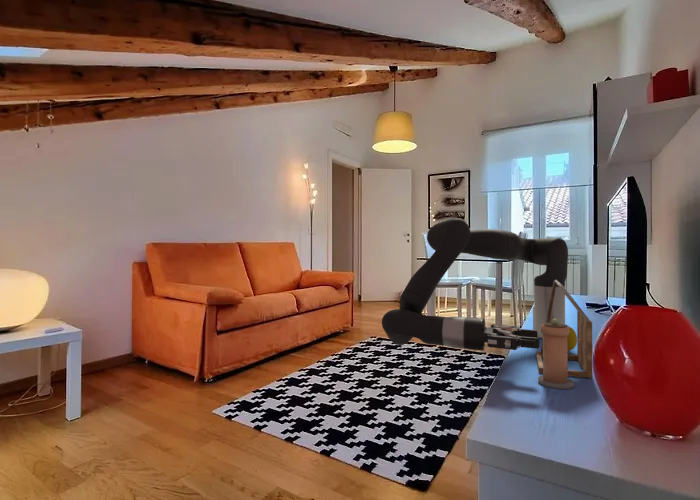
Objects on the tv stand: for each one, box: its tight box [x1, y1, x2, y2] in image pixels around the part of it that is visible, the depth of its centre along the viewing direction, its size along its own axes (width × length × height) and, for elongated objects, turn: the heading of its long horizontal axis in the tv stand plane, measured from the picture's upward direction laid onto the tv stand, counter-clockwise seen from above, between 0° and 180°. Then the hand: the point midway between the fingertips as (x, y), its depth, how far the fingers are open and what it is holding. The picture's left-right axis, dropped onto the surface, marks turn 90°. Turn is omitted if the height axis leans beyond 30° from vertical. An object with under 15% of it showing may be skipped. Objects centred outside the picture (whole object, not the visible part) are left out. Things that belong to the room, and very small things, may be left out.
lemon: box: [565, 324, 577, 352], centre depth 110 cm, size 6×6×8 cm
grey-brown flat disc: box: [537, 374, 575, 390], centre depth 85 cm, size 7×7×1 cm
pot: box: [541, 319, 571, 384], centre depth 85 cm, size 6×6×14 cm
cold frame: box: [535, 280, 593, 379], centre depth 97 cm, size 16×11×21 cm
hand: (538, 339), depth 86 cm, fingers open, 8 cm apart
